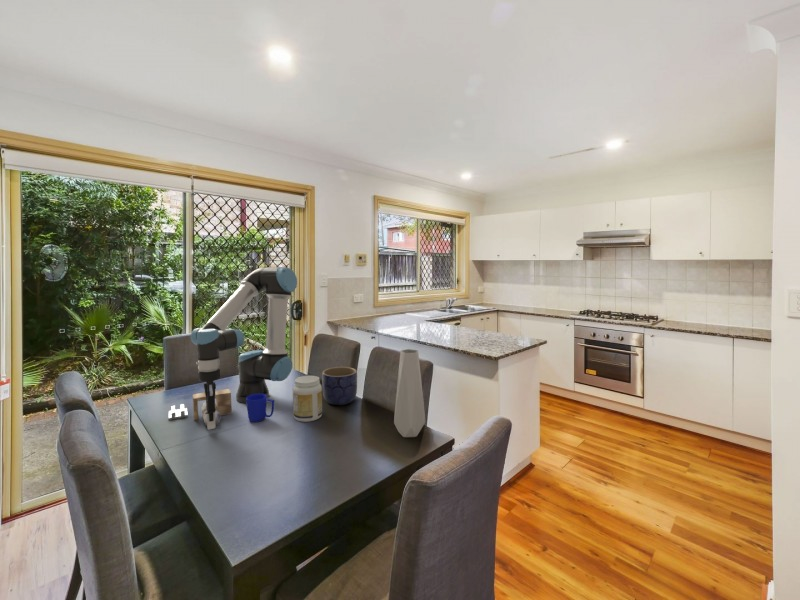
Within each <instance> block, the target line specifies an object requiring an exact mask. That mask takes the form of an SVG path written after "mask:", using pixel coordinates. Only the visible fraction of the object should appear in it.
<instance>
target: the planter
mask: <svg viewBox="0 0 800 600" xmlns="http://www.w3.org/2000/svg"><path fill="white" fill-rule="evenodd" d="M321 376H322V377H321V378H322V381H321V383H322V384H321V386H322V397H323V398H324V400H325V401H326V402H327V403H328V404H330V405H333V406H344V405H348V404H350V403H352V402H353V401H354V400H355V398H356V396H357V391H358V370H357V369H356V368H353V367H349V366H348V367H347V366H336V367H335V366H334V367H329V368H326V369H324V370H323V371H322V374H321Z"/></svg>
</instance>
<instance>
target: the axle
mask: <svg viewBox="0 0 800 600" xmlns="http://www.w3.org/2000/svg"><path fill="white" fill-rule="evenodd" d="M215 408H216V410H215V426H216V425H218V424H219V423H220V422H221V415H219V412H218V409H217V406H216V402H215ZM200 409H201V414H202V418H203V422H204V424H205V426H207V414H205V412H207V408H206V401H204V402H203V404H202V405H201V408H200Z"/></svg>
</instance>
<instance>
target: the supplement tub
mask: <svg viewBox="0 0 800 600" xmlns="http://www.w3.org/2000/svg"><path fill="white" fill-rule="evenodd" d="M292 406H293V407H292V410H293V414H292V415H293V418H294V420H296V422H297V421H298V422H301V423H302V422H303V423H305V422H307V423H308V422H313V421H317V420H318V419H320V418H321V417H322V415H323V387H322V384H321V381H320V377H319V376H316V375H302V376H298V377H296V378H295V379H294V385H293V388H292Z"/></svg>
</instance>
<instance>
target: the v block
mask: <svg viewBox="0 0 800 600" xmlns="http://www.w3.org/2000/svg"><path fill="white" fill-rule="evenodd" d="M170 407H171V410H168V421H173V420H178V419H183V418H189V416H188V415H189V414H188V408H187V407H185V404H184V403H181V404H179V408H178V409H176V405H171V406H170Z"/></svg>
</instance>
